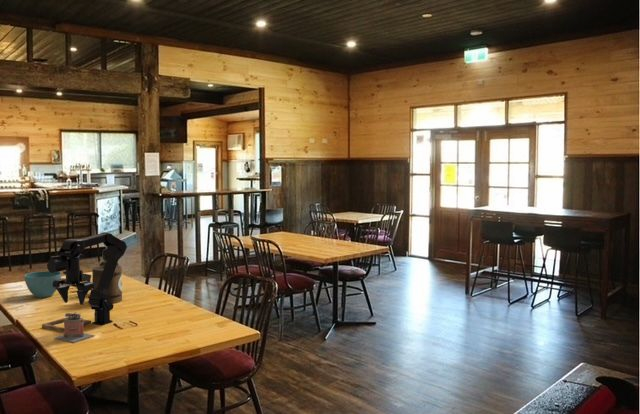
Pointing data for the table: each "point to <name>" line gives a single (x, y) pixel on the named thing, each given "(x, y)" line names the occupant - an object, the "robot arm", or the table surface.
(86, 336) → the charcoal mat
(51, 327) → the square wooden frame
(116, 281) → the wooden container
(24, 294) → the table surface
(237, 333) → the table surface
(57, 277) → the teal bowl
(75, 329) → the lighter
